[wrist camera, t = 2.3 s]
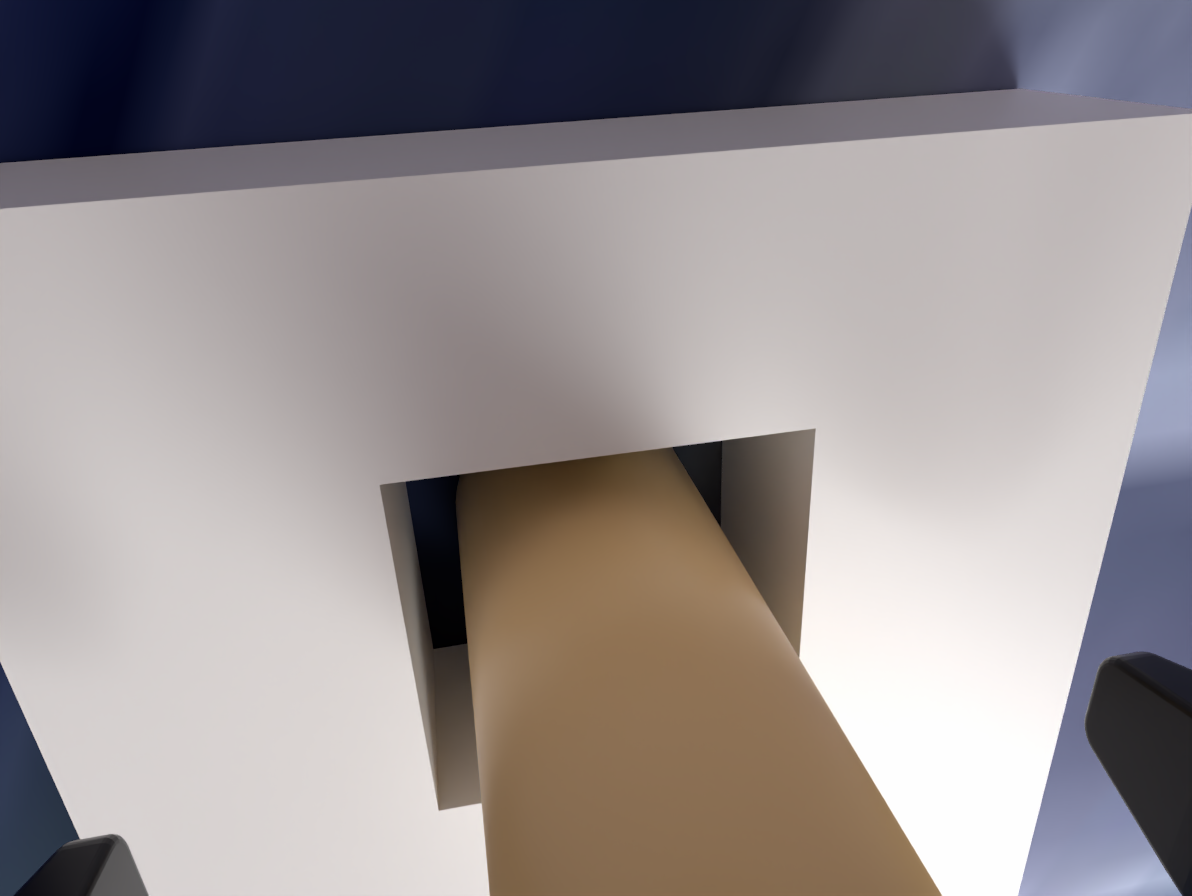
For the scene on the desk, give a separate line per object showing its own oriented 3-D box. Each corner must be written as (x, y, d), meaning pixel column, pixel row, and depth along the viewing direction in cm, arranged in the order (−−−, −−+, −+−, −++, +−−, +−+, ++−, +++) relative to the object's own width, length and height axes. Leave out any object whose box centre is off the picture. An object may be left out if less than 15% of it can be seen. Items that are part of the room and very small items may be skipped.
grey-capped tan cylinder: (469, 609, 13) (561, 1574, 5) (441, 409, 11) (509, 1310, 3) (681, 576, 13) (1081, 1411, 5) (679, 381, 12) (1223, 1119, 4)
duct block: (346, 1213, 19) (334, 1429, 16) (-22, 163, 9) (-223, 233, 6) (864, 1086, 21) (937, 1261, 18) (1021, 88, 11) (1242, 115, 8)
